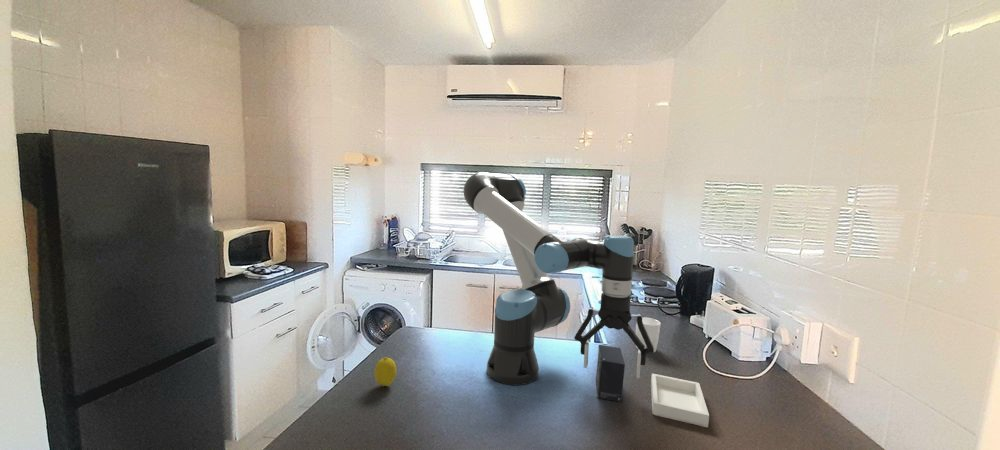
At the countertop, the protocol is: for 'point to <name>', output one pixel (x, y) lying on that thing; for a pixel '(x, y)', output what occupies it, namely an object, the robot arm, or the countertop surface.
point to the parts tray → (678, 400)
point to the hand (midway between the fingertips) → (611, 370)
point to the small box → (610, 373)
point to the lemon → (385, 371)
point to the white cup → (650, 331)
